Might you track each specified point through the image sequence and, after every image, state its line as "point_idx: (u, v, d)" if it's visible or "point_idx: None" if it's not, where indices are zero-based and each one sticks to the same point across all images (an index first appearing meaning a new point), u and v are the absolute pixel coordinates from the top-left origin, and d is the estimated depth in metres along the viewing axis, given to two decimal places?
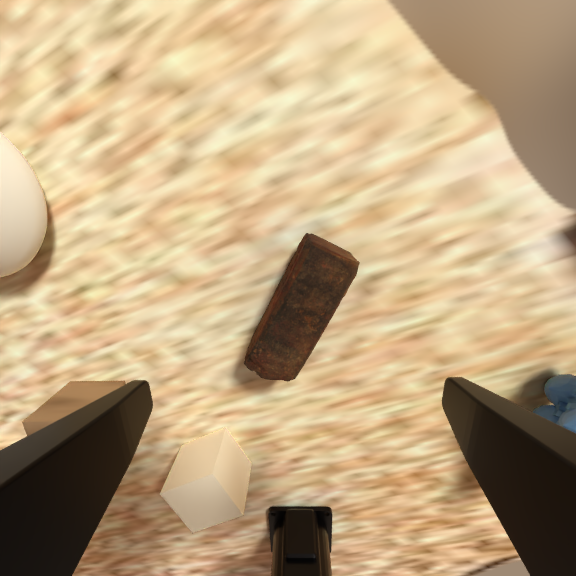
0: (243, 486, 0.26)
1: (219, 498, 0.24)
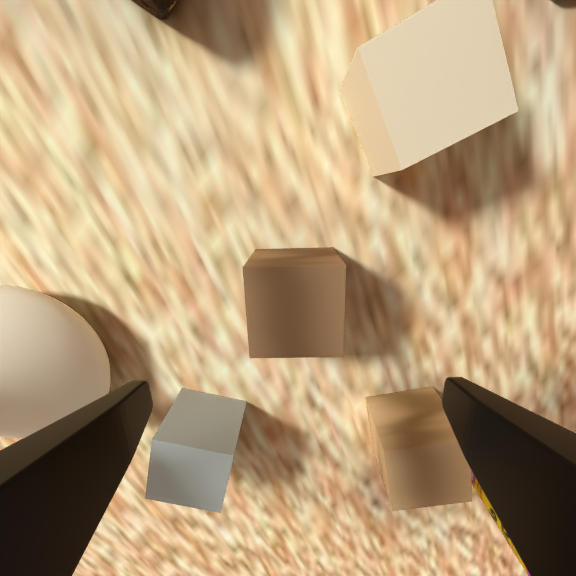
0: None
1: (427, 35, 0.11)
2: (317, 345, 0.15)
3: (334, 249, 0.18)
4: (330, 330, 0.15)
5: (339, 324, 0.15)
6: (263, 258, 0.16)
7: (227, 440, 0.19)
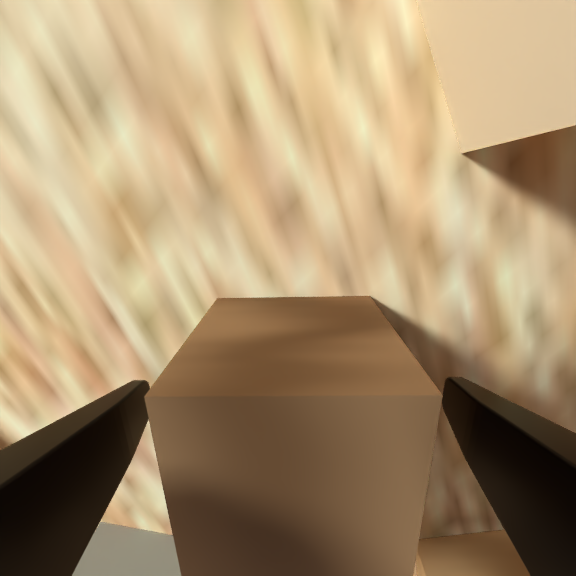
0: None
1: None
2: (348, 566, 0.06)
3: None
4: (383, 538, 0.06)
5: (408, 526, 0.06)
6: (220, 339, 0.07)
7: None
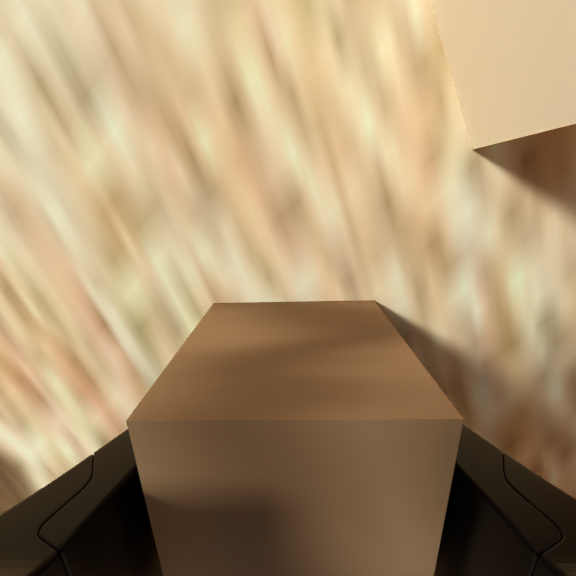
0: None
1: None
2: None
3: (380, 310, 0.08)
4: (394, 572, 0.05)
5: (422, 560, 0.05)
6: (214, 351, 0.06)
7: None
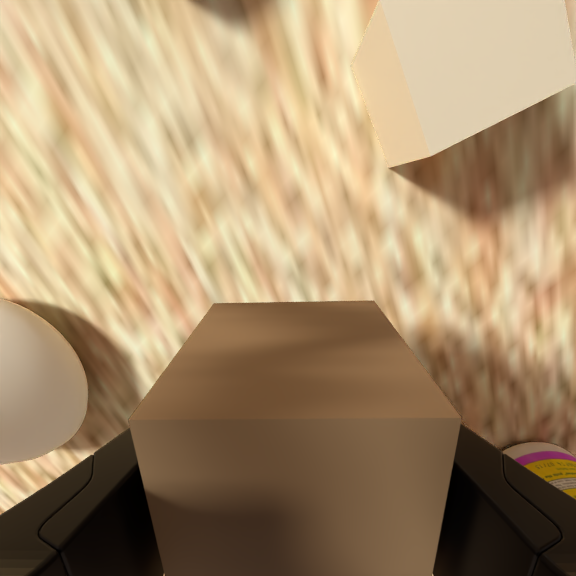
0: None
1: None
2: None
3: (380, 310, 0.08)
4: (393, 570, 0.05)
5: (421, 558, 0.05)
6: (214, 351, 0.06)
7: None
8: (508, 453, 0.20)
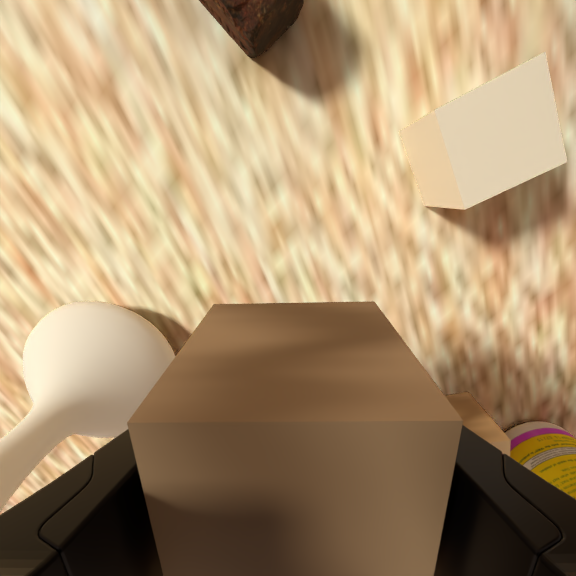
0: None
1: (493, 101, 0.13)
2: None
3: (380, 311, 0.08)
4: (394, 573, 0.05)
5: (422, 561, 0.05)
6: (214, 353, 0.06)
7: None
8: (515, 430, 0.24)
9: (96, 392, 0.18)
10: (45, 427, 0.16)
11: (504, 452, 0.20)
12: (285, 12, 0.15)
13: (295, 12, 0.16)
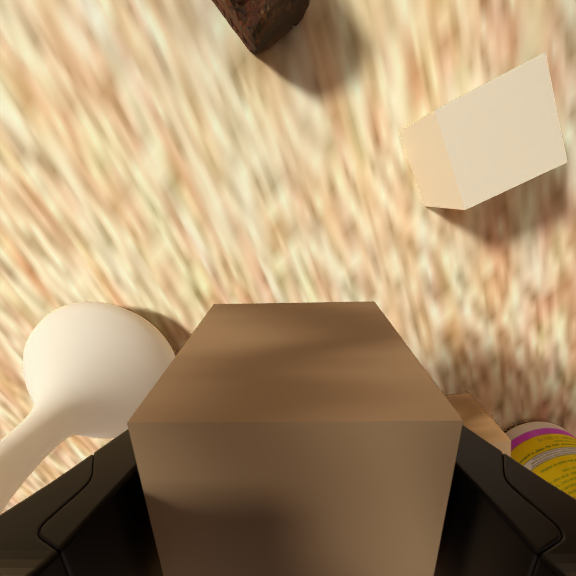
0: None
1: (493, 101, 0.13)
2: None
3: (380, 311, 0.08)
4: (393, 573, 0.05)
5: (422, 561, 0.05)
6: (214, 353, 0.06)
7: None
8: (515, 430, 0.24)
9: (97, 393, 0.18)
10: (46, 428, 0.16)
11: (505, 452, 0.20)
12: (290, 12, 0.15)
13: (300, 13, 0.16)
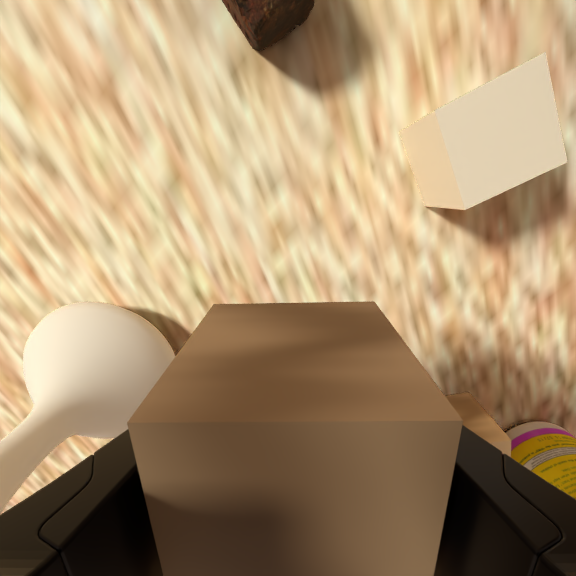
0: None
1: (493, 101, 0.13)
2: None
3: (380, 311, 0.08)
4: (393, 573, 0.05)
5: (422, 561, 0.05)
6: (214, 353, 0.06)
7: None
8: (515, 430, 0.24)
9: (97, 393, 0.18)
10: (46, 428, 0.16)
11: (505, 452, 0.20)
12: (294, 11, 0.15)
13: (305, 13, 0.16)
